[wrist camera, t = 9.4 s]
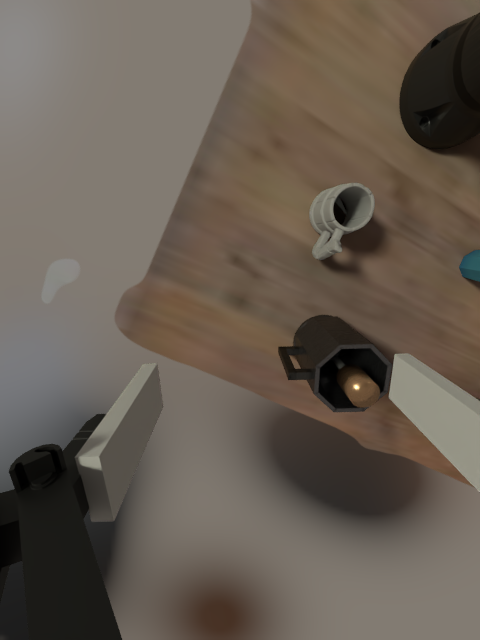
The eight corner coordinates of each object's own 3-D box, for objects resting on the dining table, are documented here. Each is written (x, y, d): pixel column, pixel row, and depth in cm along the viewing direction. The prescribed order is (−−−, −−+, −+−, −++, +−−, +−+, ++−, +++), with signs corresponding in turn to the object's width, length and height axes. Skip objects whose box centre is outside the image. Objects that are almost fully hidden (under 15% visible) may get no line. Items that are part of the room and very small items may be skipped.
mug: (359, 199, 46) (399, 187, 35) (328, 265, 50) (356, 273, 38) (319, 182, 46) (347, 163, 34) (290, 249, 49) (307, 253, 37)
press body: (352, 314, 52) (396, 342, 38) (346, 366, 56) (385, 411, 41) (276, 316, 52) (291, 345, 38) (275, 368, 55) (289, 413, 41)
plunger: (341, 328, 52) (392, 372, 35) (338, 359, 53) (385, 414, 37) (308, 329, 51) (343, 373, 35) (306, 360, 53) (338, 415, 37)
